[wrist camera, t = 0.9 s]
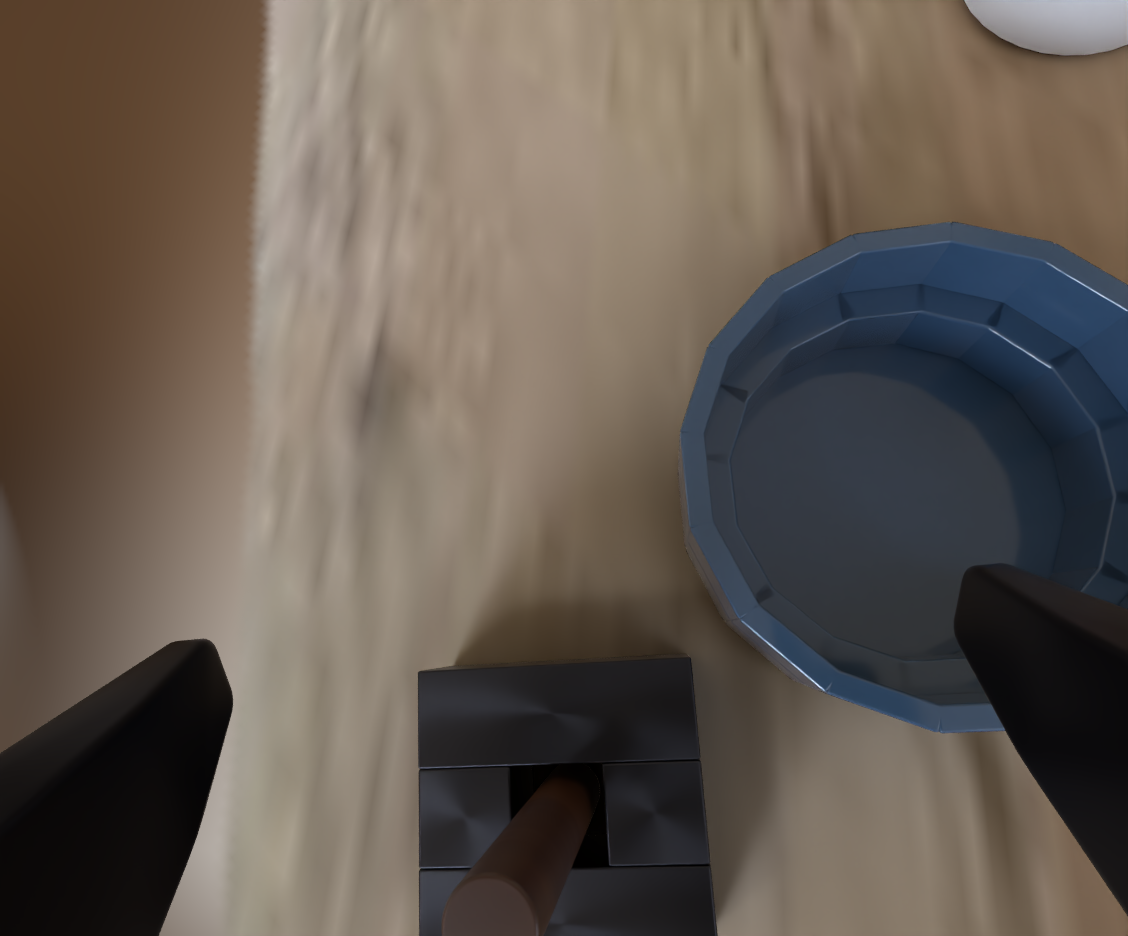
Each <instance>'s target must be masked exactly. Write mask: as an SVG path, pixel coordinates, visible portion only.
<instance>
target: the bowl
mask: <svg viewBox="0 0 1128 936" xmlns="http://www.w3.org/2000/svg"><path fill="white" fill-rule="evenodd" d="M678 483H679V493H680V503H681V513H682V524H683V534H684V544H685V547H686V552H687V553H688V555H689V557H690V559H691V561H692V563H693V565H694V567H695V568H696V570H697V572H698V574H699V576H700V578H701V580H702V582H703V583H704V585H705V587H706V589H707V591H708V593H709V595H710V597H711V598H712V600H713V602H714V604H715V606H716V608H717V610H718V612H719V613H720V615H721V617H722V619H723V620H724V621H725V623H726V624H727V625H728V626H729V627H730V628H731V629H732V630H734V631H735V632H736V633H737V634H738V635H739V636H741V637H742V638H743V639H744V640H745V641H746V642H748V643H749V644H750V645H751V646H752V647H753V648H755V649H756V650H757V651H758V652H759V653H761V654H762V655H763V656H764V657H765V658H766V659H768V660H769V661H770V662H771V663H772V664H773V665H775V666H776V667H777V668H778V669H779V670H780V671H782V672H783V673H784V674H785V675H786V676H787V677H789V678H790V679H792V680H794V681H795V682H798V683H800V684H803V685H806V686H808V687H811V688H813V689H816V690H818V691H821V692H823V693H826V694H829V695H831V696H834V697H837V698H840V699H843V700H845V701H848V702H851V703H854V704H857V705H860V706H862V707H865V708H868V709H871V710H874V711H877V712H879V713H882V714H885V715H888V716H891V717H894V718H896V719H899V720H902V721H905V722H908V723H911V724H913V725H916V726H919V727H922V728H925V729H928V730H930V731H933V732H940V733H963V732H990V731H1005V729H1004V727H1003V725H1002V724H1001V722H1000V720H999V718H998V716H997V714H996V713H995V711H994V709H993V707H992V705H991V703H990V701H989V700H988V698H987V696H986V694H985V692H984V690H983V689H982V687H981V685H980V683H979V681H978V679H977V677H976V676H975V674H974V672H973V670H972V668H971V666H970V665H969V663H968V661H967V659H966V657H965V655H964V654H963V652H962V650H961V648H960V646H959V644H958V642H957V640H956V637H955V633H954V617H955V612H956V607H957V602H958V597H959V592H960V587H961V582H962V578H963V575H964V573H965V571H966V570H967V569H968V568H970V567H972V566H976V565H987V564H997V563H1003V564H1008V565H1011V566H1014V567H1017V568H1019V569H1022V570H1025V571H1027V572H1030V573H1033V574H1035V575H1038V576H1040V577H1043V578H1046V579H1048V580H1051V581H1054V582H1056V583H1059V584H1062V585H1064V586H1067V587H1070V588H1072V589H1075V590H1078V591H1080V592H1083V593H1086V594H1088V595H1091V596H1094V597H1096V598H1099V599H1102V600H1104V601H1107V602H1110V603H1112V604H1115V605H1118V606H1120V607H1123V608H1125V609H1128V285H1127V284H1125V283H1124V282H1122V281H1120V280H1118V279H1117V278H1115V277H1113V276H1112V275H1110V274H1108V273H1106V272H1105V271H1103V270H1101V269H1100V268H1098V267H1096V266H1094V265H1093V264H1091V263H1089V262H1088V261H1086V260H1084V259H1082V258H1081V257H1079V256H1077V255H1076V254H1074V253H1072V252H1070V251H1069V250H1067V249H1065V248H1064V247H1062V246H1060V245H1058V244H1056V243H1055V244H1054V243H1053V242H1051V241H1046V240H1041V239H1036V238H1031V237H1026V236H1021V235H1017V234H1012V233H1007V232H1002V231H997V230H992V229H987V228H982V227H977V226H972V225H968V224H963V223H958V222H952V223H951V222H944V223H936V224H928V225H920V226H912V227H904V228H896V229H888V230H880V231H873V232H865V233H857V234H854V235H849V236H847V237H845V238H844V239H842V240H840V241H838V242H836V243H834V244H832V245H830V246H828V247H826V248H824V249H822V250H820V251H818V252H816V253H814V254H812V255H810V256H808V257H806V258H804V259H802V260H801V261H799V262H797V263H795V264H793V265H791V266H789V267H787V268H785V269H783V270H781V271H779V272H777V273H775V274H773V275H771V276H770V277H769V278H767V279H766V280H765V281H764V282H763V283H762V284H761V285H760V287H759V288H758V289H757V290H756V291H755V292H754V293H753V295H752V296H751V297H750V298H749V299H748V300H747V301H746V302H745V304H744V305H743V306H742V307H741V308H740V309H739V310H738V312H737V313H736V314H735V315H734V316H733V317H732V318H731V320H730V321H729V322H728V323H727V324H726V325H725V326H724V328H723V329H722V330H721V331H720V332H719V333H718V334H717V336H716V337H715V338H714V339H713V340H712V341H711V342H710V344H709V346H708V347H707V349H706V352H705V356H704V359H703V362H702V365H701V368H700V371H699V374H698V377H697V380H696V383H695V386H694V390H693V393H692V396H691V399H690V402H689V405H688V408H687V411H686V414H685V417H684V420H683V423H682V427H681V430H680V440H679V460H678Z"/></svg>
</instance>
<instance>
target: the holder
mask: <svg viewBox="0 0 1128 936" xmlns="http://www.w3.org/2000/svg"><path fill="white" fill-rule="evenodd" d="M583 763H603V765H602V770H603V786H604V802H605V817H606V833H607V834H585V836H584V838H583V841H582V843H581V846H580V848H579V851H578V853H577V855H576V858H575V860H574V863H573V865H572V868H571V870H570V872H569V875H568V877H567V880H566V882H565V885H564V887H563V890H562V892H561V894H560V897H559V899H558V902H557V904H556V907H555V909H554V911H553V914H552V916H551V919H550V921H549V924H548V926H547V928H546V931H545V933H544V936H718V935H717V925H716V914H715V904H714V893H713V883H712V873H711V865H710V852H709V841H708V831H707V820H706V810H705V800H704V789H703V779H702V768H701V761H700V747H699V737H698V726H697V716H696V706H695V695H694V685H693V674H692V664H691V658H690V657H689V656H688V654H670V655H651V656H633V657H614V658H595V659H576V660H557V661H538V662H519V663H500V664H482V665H463V666H449V667H443V668H436V669H430V670H424V671H419V672H418V767H419V768H420V770H419V867H420V868H421V869H420V871H419V936H442V929H441V927H442V916H443V911H444V908H445V905H446V902H447V900H448V898H449V896H450V895H451V893H452V892H453V890H454V889H455V888H456V886H457V885H458V884H459V883H460V882H461V880H462V879H463V878H464V877H465V876H466V874H467V873H468V872H469V871H470V870H471V868H472V867H473V866H474V865H475V864H476V862H477V861H478V860H479V859H480V858H481V856H482V855H483V854H484V853H485V852H486V850H487V849H488V848H489V847H490V846H491V844H492V843H493V842H494V841H495V840H496V838H497V837H498V836H499V835H500V834H501V832H502V831H503V830H504V829H505V828H506V826H507V825H508V824H509V823H510V822H511V820H512V819H513V818H514V817H515V816H516V814H517V813H518V812H519V811H520V810H521V808H522V807H523V806H524V805H525V804H526V802H527V801H528V800H529V799H530V798H531V796H532V795H533V773H532V765H553V764H583Z"/></svg>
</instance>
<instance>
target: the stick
mask: <svg viewBox="0 0 1128 936" xmlns="http://www.w3.org/2000/svg"><path fill="white" fill-rule="evenodd" d="M599 798H600V784H599V781H598V778H597V776H596V775H595V773H594V772H593V771H592V769H591V768H589V767H588V766H587V765H585V764H560V765H558V766H557V767H556V768H555V769H554V770H553V771H552V772H551V773H550V775H549V776H548V777H547V778H546V779H545V781H544V782H543V783H542V784H541V786H540V787H539V788H538V789H537V790H536V792H535V793H534V794H533V795H532V796H531V798H530V799H529V800H528V801H527V802H526V804H525V805H524V806H523V807H522V808H521V810H520V811H519V812H518V813H517V814H516V816H515V817H514V818H513V819H512V820H511V822H510V823H509V824H508V825H507V826H506V828H505V829H504V830H503V831H502V832H501V834H500V835H499V836H498V837H497V838H496V840H495V841H494V842H493V843H492V844H491V846H490V847H489V848H488V849H487V850H486V852H485V853H484V854H483V855H482V856H481V858H480V859H479V860H478V861H477V862H476V864H475V865H474V866H473V867H472V868H471V870H470V871H469V872H468V873H467V874H466V876H465V877H464V878H463V879H462V880H461V882H460V883H459V884H458V885H457V886H456V888H455V889H454V890H453V892H452V893H451V895H450V896H449V898H448V900H447V902H446V905H445V908H444V911H443V916H442V927H441V929H442V936H544V933H545V931H546V928H547V926H548V924H549V921H550V919H551V916H552V914H553V911H554V909H555V907H556V904H557V902H558V899H559V897H560V894H561V892H562V890H563V887H564V885H565V882H566V880H567V877H568V875H569V872H570V870H571V868H572V865H573V863H574V860H575V858H576V855H577V853H578V851H579V848H580V846H581V843H582V841H583V838H584V836H585V833H586V831H587V829H588V826H589V824H590V821H591V819H592V816H593V814H594V812H595V809H596V807H597V804H598V802H599Z"/></svg>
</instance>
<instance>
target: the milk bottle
mask: <svg viewBox="0 0 1128 936" xmlns="http://www.w3.org/2000/svg"><path fill="white" fill-rule="evenodd" d="M964 1H965V3H966V4H967V6H968V8H969V10H970V12H971V13H972V14H973V15H974V16H975V17H976V18H977V19H978V20H979V21H980V22H981V24H982V25H983V26H984V27H986V28H987V29H989V30H990V31H992V32H993V33H994V34H996V35H997V36H998V37H1000V38H1002V39H1004V40H1006V41H1009V42H1011V43H1013V44H1015V45H1017V46H1019V47H1022V48H1026V49H1030V50H1033V51H1037V52H1040V53H1047V54H1056V55H1063V56H1068V55H1090V54H1095V53H1100V52H1106V51H1111V50H1114V49H1117V48H1119V47H1122V46H1125V45H1128V0H964Z"/></svg>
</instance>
